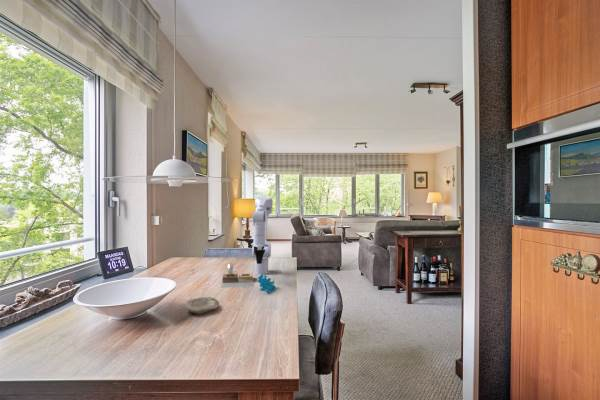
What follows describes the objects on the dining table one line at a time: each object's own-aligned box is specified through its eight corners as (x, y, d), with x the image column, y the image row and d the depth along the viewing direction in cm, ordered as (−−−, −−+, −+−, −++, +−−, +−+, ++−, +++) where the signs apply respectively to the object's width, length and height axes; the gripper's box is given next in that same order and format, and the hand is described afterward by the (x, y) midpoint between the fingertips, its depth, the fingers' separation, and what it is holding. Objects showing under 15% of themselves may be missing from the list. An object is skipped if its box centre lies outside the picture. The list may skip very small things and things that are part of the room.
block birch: (238, 278, 153) (238, 273, 153) (252, 277, 154) (252, 273, 154) (238, 282, 146) (238, 277, 146) (252, 281, 147) (252, 276, 147)
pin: (227, 280, 150) (227, 264, 150) (232, 279, 150) (232, 263, 150) (227, 281, 147) (227, 265, 147) (232, 281, 148) (232, 264, 148)
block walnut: (223, 278, 152) (223, 274, 152) (237, 278, 153) (237, 273, 153) (222, 282, 145) (222, 277, 145) (237, 282, 146) (237, 277, 146)
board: (223, 279, 153) (223, 278, 153) (253, 278, 156) (253, 277, 156) (221, 289, 137) (221, 287, 137) (254, 287, 140) (254, 286, 140)
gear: (267, 293, 127) (255, 274, 131) (258, 302, 128) (247, 282, 132) (281, 290, 136) (270, 272, 140) (273, 298, 138) (262, 280, 142)
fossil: (223, 313, 111) (224, 305, 111) (189, 319, 104) (190, 311, 104) (213, 302, 120) (214, 295, 120) (181, 307, 113) (182, 299, 113)
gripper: (251, 233, 157) (250, 259, 157) (251, 236, 142) (251, 265, 142) (264, 233, 158) (264, 258, 158) (266, 236, 143) (265, 265, 144)
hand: (258, 262), depth 150 cm, fingers open, 7 cm apart
